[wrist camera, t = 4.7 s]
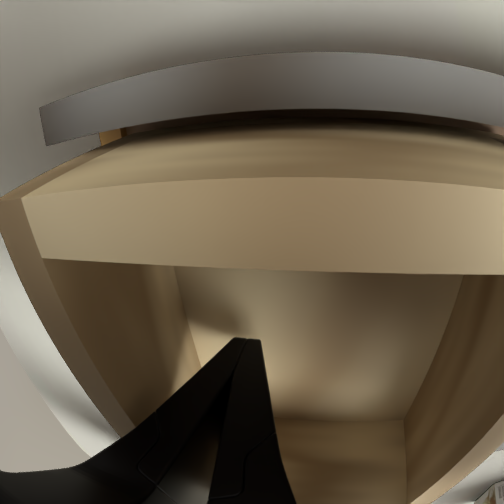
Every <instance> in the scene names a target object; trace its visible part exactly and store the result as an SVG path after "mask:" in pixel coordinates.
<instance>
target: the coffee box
mask: <svg viewBox="0 0 504 504" xmlns="http://www.w3.org/2000/svg"><path fill="white" fill-rule="evenodd" d="M474 504H504V481H501V482H498V483H495V484H493V485H492V486H491V487H490V488H489V489H488V490H487V491H486V492H485V493H484V494H483V495H482V496H481V497H480V498H479V499H477V500H476V501H475V502H474Z"/></svg>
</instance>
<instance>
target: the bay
mask: <svg viewBox="0 0 504 504" xmlns="http://www.w3.org/2000/svg"><path fill="white" fill-rule="evenodd" d="M39 109H40V116H41V121H42V127H43V132H44V137H45V142H46V146H49V145H53V144H56V143H60V142H64V141H68V140H71V139H75V138H79V137H83V136H87V135H92V134H96V133H99V137H100V142H101V146H103V145H105V144H107V143H110V142H112V141H115V140H117V139H120V138H122V137H125V136H127V135H130V134H132V133H136V132H142V131H148V130H155V129H161V128H168V127H176V126H183V125H192V124H200V123H210V122H220V121H232V120H246V119H263V118H289V117H344V118H370V119H386V120H400V121H411V122H421V123H430V124H438V125H446V126H453V127H460V128H467V129H473V130H479V131H484V132H490V133H495V134H500V135H503V136H504V76H502V75H498V74H495V73H491V72H487V71H483V70H479V69H475V68H470V67H466V66H461V65H456V64H451V63H446V62H440V61H434V60H428V59H421V58H414V57H406V56H397V55H386V54H374V53H357V52H289V53H271V54H259V55H248V56H239V57H230V58H223V59H215V60H209V61H202V62H196V63H191V64H185V65H180V66H175V67H170V68H165V69H161V70H156V71H152V72H148V73H144V74H140V75H136V76H132V77H128V78H124V79H121V80H117V81H114V82H110V83H107V84H104V85H101V86H97V87H94V88H91V89H88V90H85V91H82V92H79V93H77V94H74V95H71V96H68V97H66V98H63V99H60V100H58V101H55V102H53V103H50V104H48V105H45V106H43V107H40V108H39ZM503 449H504V442H503V443H502V444H501V445H500V446H499V447H498V448H497V449H496V450H495V451H499V450H503ZM495 451H494V452H495Z"/></svg>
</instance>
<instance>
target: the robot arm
mask: <svg viewBox="0 0 504 504" xmlns="http://www.w3.org/2000/svg"><path fill="white" fill-rule="evenodd" d="M0 504H297V503H296V500H295V497H294V494H293V492H292V489H291V486H290V483H289V481H288V478H287V475H286V471H285V468H284V465H283V462H282V457H281V453H280V448H279V443H278V437H277V434H276V426H275V420H274V414H273V409H272V403H271V397H270V391H269V385H268V379H267V373H266V367H265V361H264V355H263V349H262V343H261V340H260V339H252V338H248V339H247V338H241V337H234V338H232V339H231V340H230V341H229V342H228V343H227V344H226V345H225V346H224V347H223V348H222V349H221V350H220V351H219V352H218V353H217V354H216V355H215V356H214V357H212V358H211V359H210V360H209V361H208V362H207V363H206V364H205V365H204V366H203V367H202V368H201V369H200V370H199V371H198V372H197V373H196V374H194V375H193V376H192V377H191V378H190V379H189V380H188V381H187V382H186V383H185V384H184V385H183V386H182V387H180V388H179V389H178V390H177V391H176V392H175V393H174V394H173V395H172V396H171V397H170V398H168V399H167V400H166V401H165V402H164V403H163V404H162V405H161V406H160V407H158V408H157V409H156V412H155V411H154V412H153V413H152V414H150V415H149V416H148V417H147V418H146V419H145V420H144V421H142V422H141V423H140V424H139V425H138V426H136V427H135V428H134V429H133V430H131V431H130V432H129V433H127V434H126V435H125V436H123V437H122V438H120V439H119V440H117V441H116V442H115V443H113V444H112V445H110V446H109V447H107V448H106V449H104V450H102V451H101V452H99V453H98V454H96V455H95V456H93V457H92V458H90V459H89V460H87V461H85V462H83V463H81V464H79V465H76V466H73V467H69V468H62V469H54V470H44V471H33V472H19V473H10V472H3V471H1V470H0Z"/></svg>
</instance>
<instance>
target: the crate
mask: <svg viewBox="0 0 504 504" xmlns="http://www.w3.org/2000/svg"><path fill="white" fill-rule="evenodd" d="M0 232H1V235H2V237H3V240H4V242H5V245H6V248H7V250H8V253H9V255H10V257H11V260H12V262H13V264H14V267H15V269H16V271H17V274H18V276H19V278H20V280H21V282H22V285H23V287H24V289H25V291H26V293H27V295H28V297H29V299H30V301H31V303H32V305H33V307H34V309H35V311H36V313H37V315H38V316H39V318H40V320H41V322H42V324H43V326H44V327H45V329H46V331H47V333H48V334H49V336H50V338H51V340H52V341H53V343H54V345H55V346H56V348H57V350H58V351H59V353H60V355H61V356H62V358H63V359H64V361H65V363H66V364H67V366H68V367H69V369H70V370H71V372H72V373H73V375H74V376H75V378H76V379H77V381H78V382H79V384H80V385H81V386H82V388H83V389H84V391H85V392H86V394H87V395H88V396H89V398H90V399H91V400H92V402H93V403H94V404H95V406H96V407H97V408H98V410H99V411H100V412H101V414H102V415H103V416H104V418H105V419H106V420H107V421H108V423H109V424H110V425H111V426H112V428H113V429H114V430H115V431H116V432H117V434H118V435H119V436H120V437H121V438H122V437H123V436H125V435H126V434H127V433H129V432H130V431H131V430H133V429H134V428H135V427H136V426H138V425H139V424H140V423H141V422H142V421H144V420H145V419H146V418H147V417H148V416H149V415H150V414H152V413H153V412H154V411H155V412H156V409H157V408H158V407H160V406H161V405H162V404H163V403H164V402H165V401H166V400H167V399H168V398H170V397H171V396H172V395H173V394H174V393H175V392H176V391H177V390H178V389H179V388H180V387H182V386H183V385H184V384H185V383H186V382H187V381H188V380H189V379H190V378H191V377H192V376H193V375H194V374H196V373H197V372H198V371H199V370H200V369H201V368H202V367H203V366H204V365H205V364H206V363H207V362H208V361H209V360H210V359H211V358H212V357H214V356H215V355H216V354H217V353H218V352H219V351H220V350H221V349H222V348H223V347H224V346H225V345H226V344H227V343H228V342H229V341H230V340H231V339H232V338H234V337H241V338H247V339H248V338H252V339H260V340H261V343H262V349H263V355H264V361H265V367H266V373H267V379H268V385H269V391H270V397H271V403H272V409H273V414H274V420H275V426H276V434H277V437H278V443H279V448H280V453H281V457H282V462H283V465H284V468H285V471H286V475H287V478H288V481H289V483H290V486H291V489H292V492H293V494H294V497H295V500H296V503H297V504H430V503H432V502H433V501H435V500H436V499H437V498H439V497H440V496H442V495H443V494H444V493H446V492H447V491H448V490H450V489H451V488H452V487H454V486H455V485H456V484H457V483H459V482H460V481H461V480H462V479H464V478H465V477H466V476H467V475H468V474H470V473H471V472H472V471H473V470H474V469H475V468H477V467H478V466H479V465H480V464H481V463H482V462H483V461H484V460H486V459H487V458H488V457H489V456H490V455H491V454H492V453H493V452H494V451H495V450H496V449H497V448H498V447H499V446H500V445H501V444H502V443H503V442H504V136H503V135H500V134H495V133H490V132H484V131H479V130H473V129H467V128H460V127H453V126H446V125H438V124H430V123H421V122H411V121H400V120H386V119H370V118H344V117H289V118H263V119H246V120H232V121H220V122H210V123H200V124H192V125H183V126H176V127H168V128H161V129H155V130H148V131H142V132H136V133H132V134H130V135H127V136H125V137H122V138H120V139H117V140H115V141H112V142H110V143H107V144H105V145H103V146H100V147H98V148H96V149H94V150H91V151H89V152H87V153H85V154H82V155H80V156H78V157H76V158H74V159H72V160H69V161H67V162H65V163H63V164H61V165H59V166H57V167H55V168H53V169H51V170H49V171H47V172H45V173H43V174H41V175H39V176H38V177H36V178H34V179H32V180H30V181H28V182H26V183H25V184H23V185H21V186H19V187H18V188H16V189H14V190H12V191H11V192H9V193H7V194H5V195H4V196H2V197H0Z"/></svg>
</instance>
